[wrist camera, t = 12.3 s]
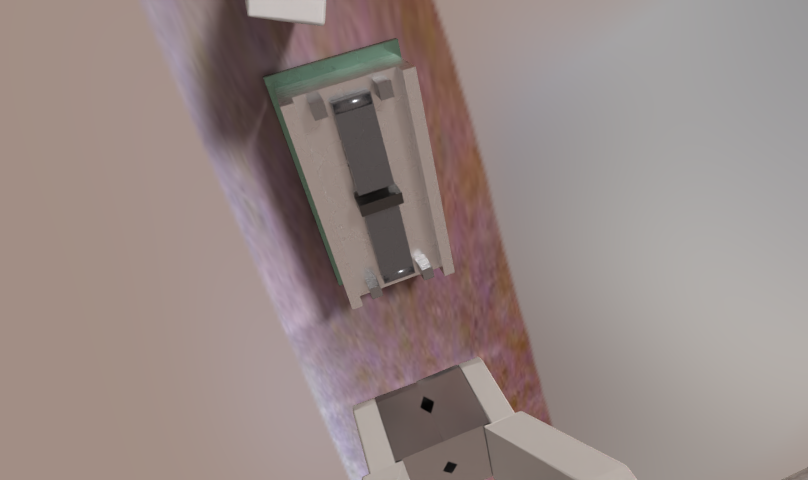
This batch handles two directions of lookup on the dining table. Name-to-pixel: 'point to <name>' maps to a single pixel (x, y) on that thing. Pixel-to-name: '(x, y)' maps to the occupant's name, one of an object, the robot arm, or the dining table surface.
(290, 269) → the dining table surface
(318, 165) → the fuse holder
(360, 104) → the strap
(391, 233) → the strap
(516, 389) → the dining table surface
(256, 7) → the skincare box
